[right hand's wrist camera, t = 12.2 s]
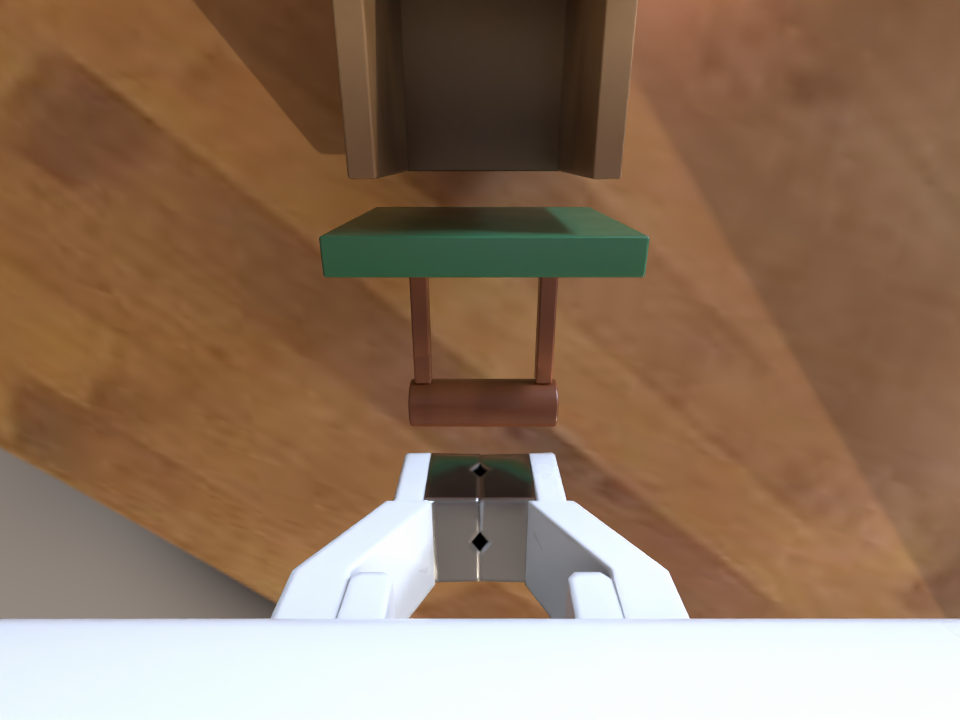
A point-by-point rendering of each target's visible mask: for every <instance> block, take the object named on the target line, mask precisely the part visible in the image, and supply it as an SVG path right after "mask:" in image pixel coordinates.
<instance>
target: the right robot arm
mask: <svg viewBox="0 0 960 720" xmlns="http://www.w3.org/2000/svg"><path fill="white" fill-rule="evenodd" d="M461 581H498V582H525V585H526V586H527V588H528V589H529V590H530V591H531V593H532V594H533V595H534V597H535V598H536V599H537V600H538V602H539V603H540V604H541V606H542V607H543V608H544V609H545V611H546V612H547V613H548V615H549V616H550V617H551V618H552V619H409V618H410V616H411V615H412V614H413V612H414V611H415V610H416V609H417V607H418V606H419V605H420V603H421V602H422V601H423V600H424V598H425V597H426V596H427V594H428V593H429V592H430V591H431V589H432V588H433V587H434V585H435V582H461ZM0 720H960V619H690V618H689V616H688V614H687V612H686V609H685V607H684V605H683V603H682V601H681V598H680V596H679V594H678V592H677V589H676V587H675V585H674V583H673V581H672V578H671V576H670V574H669V572H668V570H666V569H665V568H664V567H662V566H661V565H660V564H658V563H657V562H656V561H654V560H653V559H651V558H650V557H649V556H647V555H646V554H645V553H643V552H642V551H641V550H639V549H638V548H637V547H635V546H634V545H633V544H631V543H630V542H628V541H627V540H626V539H624V538H623V537H622V536H620V535H619V534H618V533H616V532H615V531H614V530H612V529H611V528H610V527H608V526H607V525H606V524H604V523H603V522H601V521H600V520H599V519H597V518H596V517H595V516H593V515H592V514H591V513H589V512H588V511H587V510H585V509H584V508H583V507H581V506H580V505H578V504H577V503H576V502H574V501H566V497H565V493H564V489H563V485H562V481H561V477H560V473H559V469H558V465H557V462H556V458H555V455H554V454H553V453H531V454H494V455H480V454H446V453H432V454H431V453H407V454H406V455H405V457H404V461H403V465H402V469H401V473H400V477H399V481H398V485H397V489H396V493H395V497H394V501H386V502H384V503H383V504H382V505H380V506H379V507H377V508H376V509H375V510H373V511H372V512H371V513H369V514H368V515H367V516H365V517H364V518H363V519H361V520H360V521H358V522H357V523H356V524H354V525H353V526H352V527H350V528H349V529H348V530H346V531H345V532H344V533H342V534H341V535H339V536H338V537H337V538H335V539H334V540H333V541H331V542H330V543H329V544H327V545H326V546H324V547H323V548H322V549H320V550H319V551H318V552H316V553H315V554H314V555H312V556H311V557H310V558H308V559H307V560H305V561H304V562H303V563H301V564H300V565H299V566H297V567H296V568H295V569H293V570H292V572H291V575H290V577H289V579H288V581H287V583H286V585H285V588H284V590H283V592H282V594H281V596H280V599H279V601H278V603H277V605H276V607H275V609H274V612H273V614H272V616H271V618H270V619H0Z"/></svg>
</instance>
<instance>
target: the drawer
mask: <svg viewBox="0 0 960 720" xmlns="http://www.w3.org/2000/svg"><path fill="white" fill-rule="evenodd" d="M637 6H638V0H332V7H333V18H334V29H335V40H336V51H337V62H338V73H339V84H340V95H341V106H342V117H343V128H344V139H345V150H346V161H347V172H348V177H349V178H350V179H376V178H381V177H385V176H389V175H393V174H397V173H401V172H405V171H561V172H565V173H570V174H574V175H578V176H583V177H587V178H592V179H620V178H621V171H622V161H623V150H624V140H625V130H626V119H627V109H628V99H629V88H630V78H631V68H632V57H633V47H634V37H635V26H636V16H637ZM319 241H320V250H321V259H322V267H323V275H324V277H409V281H410V300H411V319H412V338H413V357H414V376H415V379H412V380H411V383H410V387H409V399H408V410H409V421H410V424H411V426H467V427H554V426H556V424H557V420H558V408H559V401H558V388H557V383H556V381H555V380H554V379H552V374H553V357H554V340H555V322H556V305H557V287H558V277H644V276H645V271H646V262H647V254H648V246H649V237H648V236H646V235H644V234H642V233H640V232H638V231H636V230H634V229H632V228H630V227H628V226H626V225H624V224H622V223H620V222H618V221H616V220H614V219H612V218H610V217H608V216H606V215H604V214H602V213H600V212H598V211H596V210H594V209H592V208H590V207H376V208H374V209H372V210H370V211H368V212H367V213H365V214H363V215H361V216H359V217H357V218H355V219H353V220H351V221H349V222H347V223H345V224H343V225H341V226H339V227H338V228H336V229H334V230H332V231H330V232H328V233H326V234H324V235H322V236H320V238H319ZM429 277H539V282H538V305H537V328H536V351H535V375H534V377H535V379H432V354H431V328H430V302H429Z"/></svg>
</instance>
